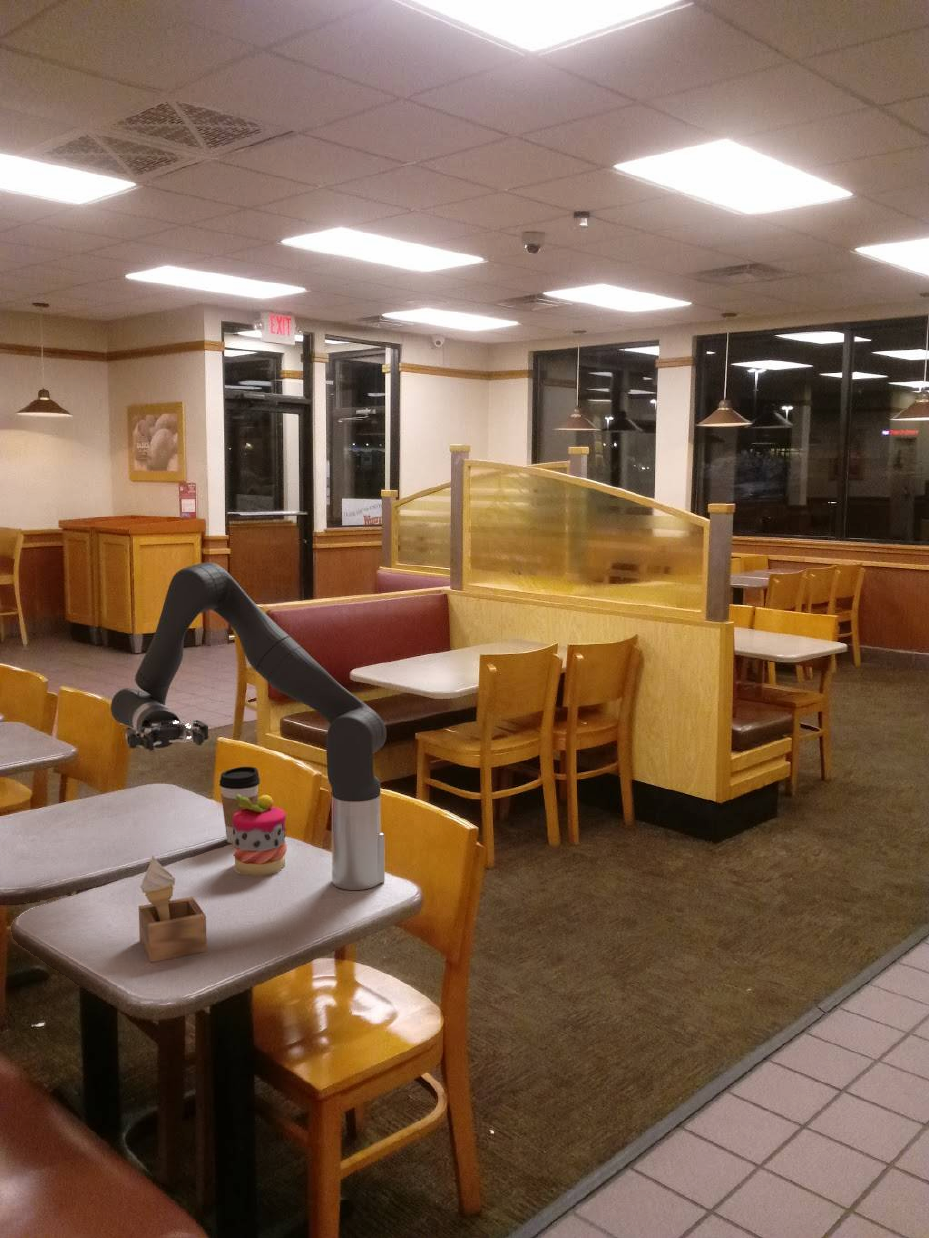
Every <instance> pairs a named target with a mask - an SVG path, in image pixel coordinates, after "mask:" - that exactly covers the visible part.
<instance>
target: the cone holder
mask: <svg viewBox="0 0 929 1238" xmlns="http://www.w3.org/2000/svg"><path fill="white" fill-rule="evenodd" d="M168 906H169V915H170V920H166V921H160V919H159V916H158V912H157V909H156V907H155V906H154V905H153V904H152V903H150V904H144V905H143V904H142V905H138V929H139V930H138V931H139V942H140V945H141V946H142V948H143V950H144V952H145V954H146V955H147V958H148V959H149V961H150V963H154V962H155V963H156V962H161V961H165V960H169V959H170V960H171V959H175V958H179V956H181V957H185V956H189V955H196V954H200V953H204V952H207V951H208V949H207V948H208V947H207V946H208V945H207V943H208V942H207V916H206V914H205V913H204V911H203V909H202V908H201V907H200V906H199V903H198V902H197V901H196V900H195V898H194V897H193V896H189V897H184V898H177V899H170V901H169V904H168Z"/></svg>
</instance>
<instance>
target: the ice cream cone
mask: <svg viewBox="0 0 929 1238" xmlns="http://www.w3.org/2000/svg"><path fill="white" fill-rule="evenodd" d="M175 883H176V878H175V877H174V876H173V874H171V873H170V872H169V871H168V870H167V869H166V868H165V867H164V866H162V865H161V863H159V862H158V860H157V858H155V857H154V855H152V856H151V859H150V863H149V866H148V868H147V871H146V873H145V875H144V877H143V880H142V883H141V885H140V889H141V891H142V893H144V894H145V895H144V896H145V897H146V899H147V900H148V902H149V903H150V904H153V905H154V906H155V907H156V909H157V912H158V916H159V919H160V921H166V920H170V915H169V906H168V904H169V901H171V900H172V899H171V898H173V896H174V885H175Z"/></svg>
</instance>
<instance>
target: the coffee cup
mask: <svg viewBox="0 0 929 1238" xmlns="http://www.w3.org/2000/svg"><path fill="white" fill-rule="evenodd" d="M219 779H220V780H219V784H218V785H219V786H220V787H221V802H222V804H221V805H222V810H223V811H222V812H223V820H224V827H225V835H226V836H225V837H226V842H227V843H229V844H232V845H234V844H235V837H234V834H233V828H234V825H233V816H234V814H235V813H236V812H237V811H239V810H241V809H244V808H242V807H239V804H240V803H239V802H238V801H237V799H236V796H237V795H241V796H242V798H244V797H246V798H248V799H249V800H250V801H251V803H252V804H253V805H254V806H255V805H256V806H258V805H257V801H258V799H259V791H258V790H259V789H258V788H259V785H260V783H261V780H260V775H259V770H258V769H257V768H256V767H253V766H239V767H234V768H231V769H227V770H225V771H222V773H221V774H220V778H219Z"/></svg>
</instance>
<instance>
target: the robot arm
mask: <svg viewBox="0 0 929 1238" xmlns="http://www.w3.org/2000/svg"><path fill="white" fill-rule="evenodd" d="M209 611H213V612H215V613H216V614H218V615H219V616H220V617H221V618H222V619H223V620H224V621H225V622H227V624H229V625H230V627H231V628H232V629H233V630H234V632H235V633H236V635H237V637H238V639H239V642H240V645H241V647H242V651H243V653H244V655H245V658H246V659H247V661H248V663H249V664H250V666H251V667H252V668H253V669H254V671H256V672H257V673H258V674H259V675H260V676H261V677H262V678H263V679H264V680H265V681H266V682H267V683H268V684H270V686H272V687H273V688H274V689H275V690H277V691H279V692H280V693H282V694H284V695H286V696H287V697H289V698H291V699H294V700H295V701H297V702H300V703H302V704H304V705H305V706H308V707H309V708H310V709H313V710H314V711H315V712H317V713H318V714H319V715H321V716H322V717H323V718H324V719H325V720H326V721H327V722H328V723H329V724H330V725H329V726H328V729H327V733H326V740H325V741H326V742H325V743H326V744H325V746H326V747H325V749H326V770H327V771H326V772H327V779H328V783H329V786H330V787H331V848H332V849H331V860H332V861H331V869H332V870H331V877H332V881H331V882H332V884H333V885H334V886H335V887H337V888H339V889H343V890H349V891H361V890H367V889H371V888H374V887H376V886H378V885H379V884H381V883H385V879H386V878H385V874H386V873H385V871H386V870H385V869H386V868H385V867H386V866H385V863H386V862H385V861H386V860H385V859H386V858H385V857H386V855H385V845H386V844H385V843H386V842H385V840H386V839H385V838H386V836H385V834H384V833H383V832H382V830H381V827H382V826H381V821H382V820H381V790H382V789H381V781H380V779H379V778H378V777H377V776H376V775H375V773H374V754H375V753H376V752H378V751H379V750H380V749H381V748H382V747H383V746H384V744H385V742H386V740H387V727H386V725H385V722H384V720H383V718H382V717H381V716H380V715H379V714H378V713H377V712H376V711H375V710H374V709H372V708H371V707H370V706H369V705H367V704H366V703H365V702H364V701H362V700H360V699H359V698H358V697H356V696H355V695H354V694H353V693H351V692H350V691H349V690H348V689H346V688H345V687H344V686H343V685H341V684H340V682H338V681H337V680H336V679H335V678H334V677H333V676H332V675H331V674H330V673H329V672H328V671H327V670H326V669H325V668H324V667H323V666H322V665H321V664H320V663H318V662H317V661H316V659H314V658H313V657H312V656H311V655H310V654H309V653H308V652H307V651H306V650H305V649H304V647H302V646H301V645H300V644H299V643H298V642H297V641H296V640H294V638H293V637H291V636H290V635H289V634H288V633H287V632H286V631H284V630H283V629H282V628H281V627H280V626H279V625H278V624H277V623H276V622H275V621H274V620H273V619H272V618H271V617H270V616H269V615H267V614H266V612H265V611H264V610H262V609H261V607H259V606H258V605H257V604H256V603H255V602H254V601H253V600H252V599H251V597H250V596H249V595H248V594H247V592H246V591H245V590H244V589H243V588H242V587H241V586H240V585H239V583H238V582H237V581H236V579H234V577H232V575H231V574H230V573H229V572H228V571H227V570H226V569H225V568H223V567H222V566H221V565H219V564H217V563H215V562H210V561H209V562H208V561H206V562H201V563H197V564H194V565H190V566H187V567H184V568H181V569H180V570H178V571H177V572H175V574H174V575H173V576H172V578H171V580H170V583H169V585H168V589H167V592H166V595H165V599H164V603H163V605H162V609H161V612H160V616H159V620H158V622H157V626H156V629H155V633H154V634H153V637H152V640H151V641H150V645H149V647H148V649H147V651H146V653H145V655H144V657H143V659H142V661H141V662H140V665H139V667H138V669H137V671H136V672H135V676H134V681H135V684H136V685H137V687H138V688H139V689H140V690H137V689H134V688H129V687H128V688H122V689H120V690H118V691H117V692H116V693H115V694H114V695H113V697H112V699H111V703H110V712H111V715H112V717H113V719H114V720H115V721H116V722H118V723H119V724H121V725H124V726H126V727H127V728H126V727H125V742H126V744H127V745H128V747H129V749H136V748H137V746H139V747H140V749H141V748H142V749H144V750H147V751H148V752H154V749H164V748H165V749H166V748H168V747H170V746H172V745H173V744H174V743H183V744H184V743H185V744H186V743H189V742H193V743H194V744H195V745H196V746H202V745H203V743H205V741H207V740H209V739H210V737H209V736H210V735H209V725H207V724H206V723H205V722H203V721H201V720H197V719H196V720H194V721H193V722H192V724H190V723H187V722H181V720H180V718H179V717H178V715H177V714H176V713H175V712H174V711H172V710H171V709H170V708H169V707H167V706H166V701H167V698H168V697H167V696H168V692H169V689H170V686H171V684H172V682H173V680H174V678H175V677H176V674H177V673H178V670H179V669H180V666H181V663H182V660H183V657H184V642H185V641H184V640H185V637H186V634H187V632H188V630H189V627H190V626H191V625H192V623H193V622H194V621H195V619H197V617H198V616H199V615H200V614H203V613H205V612H209ZM141 690H142V691H141ZM191 733H192V735H191Z"/></svg>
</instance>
